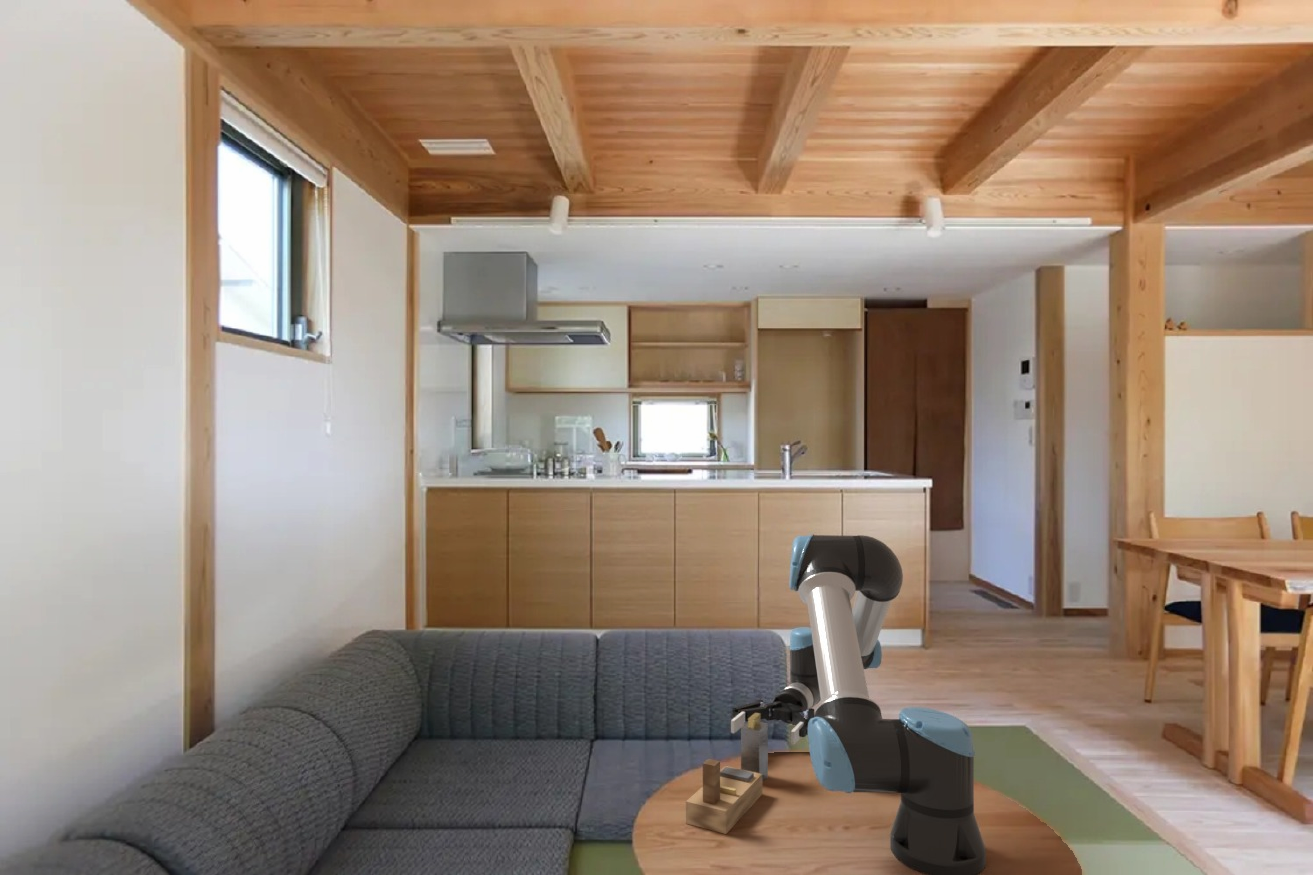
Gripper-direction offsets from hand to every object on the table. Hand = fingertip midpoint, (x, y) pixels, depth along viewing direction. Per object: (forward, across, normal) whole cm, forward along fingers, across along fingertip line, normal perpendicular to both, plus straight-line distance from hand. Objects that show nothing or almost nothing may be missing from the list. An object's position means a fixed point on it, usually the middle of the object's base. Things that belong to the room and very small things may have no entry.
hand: (761, 732), depth 162 cm
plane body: (+20, 0, -8) cm, 22 cm away
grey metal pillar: (+5, 0, -8) cm, 9 cm away
